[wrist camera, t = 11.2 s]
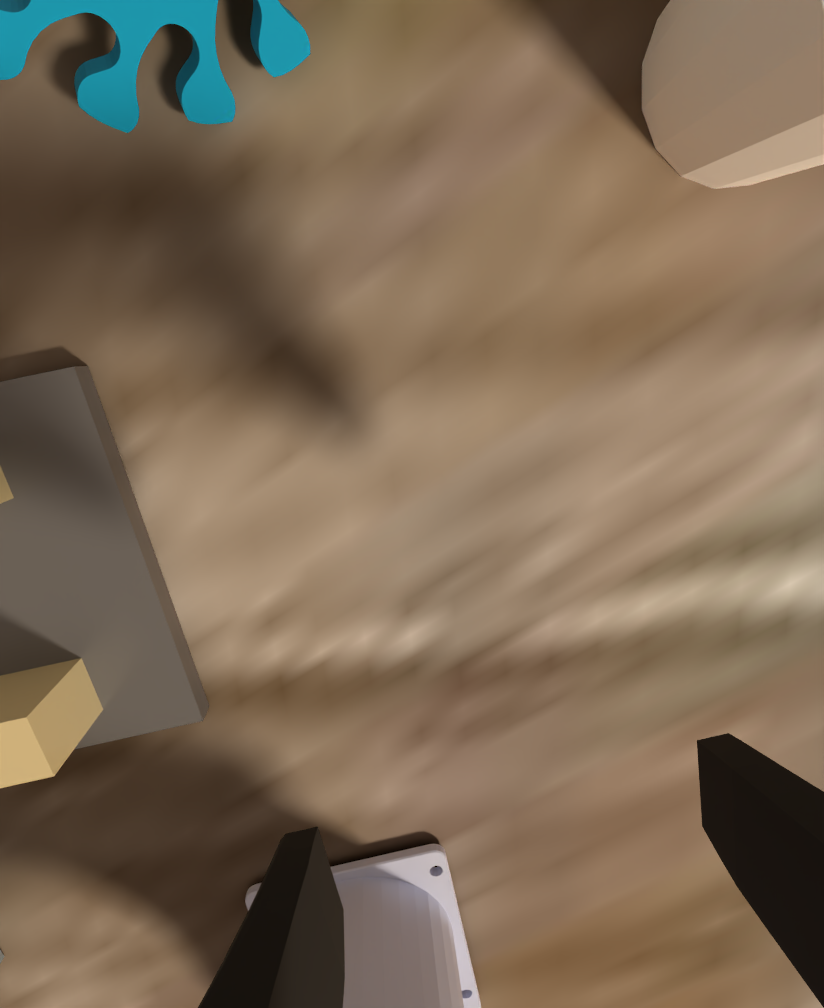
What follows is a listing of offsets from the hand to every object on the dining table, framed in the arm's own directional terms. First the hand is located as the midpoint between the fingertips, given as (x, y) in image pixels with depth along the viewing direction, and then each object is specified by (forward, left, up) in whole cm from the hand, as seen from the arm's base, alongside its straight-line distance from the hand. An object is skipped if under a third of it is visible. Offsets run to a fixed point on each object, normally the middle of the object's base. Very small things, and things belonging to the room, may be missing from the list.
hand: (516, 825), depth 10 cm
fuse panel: (+4, +14, -9) cm, 17 cm away
